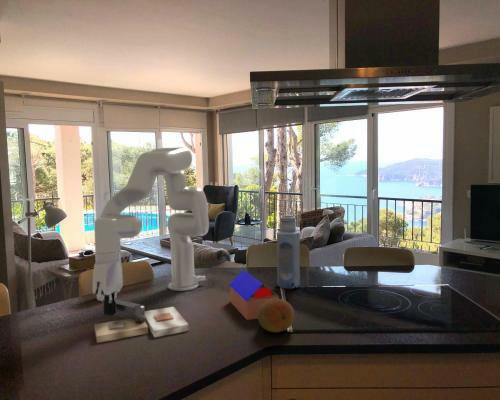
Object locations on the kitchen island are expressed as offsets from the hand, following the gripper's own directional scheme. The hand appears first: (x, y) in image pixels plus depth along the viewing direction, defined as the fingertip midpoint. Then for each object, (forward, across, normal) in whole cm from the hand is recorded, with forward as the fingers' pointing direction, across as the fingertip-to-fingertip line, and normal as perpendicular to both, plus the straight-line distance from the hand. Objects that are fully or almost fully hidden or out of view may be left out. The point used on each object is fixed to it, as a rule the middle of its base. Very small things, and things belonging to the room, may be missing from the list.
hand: (109, 314), depth 124 cm
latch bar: (+2, -3, +5) cm, 6 cm away
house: (+4, -26, +40) cm, 48 cm away
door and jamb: (+4, -1, +10) cm, 11 cm away
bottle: (+3, -55, +49) cm, 74 cm away
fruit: (+4, -8, +51) cm, 52 cm away
